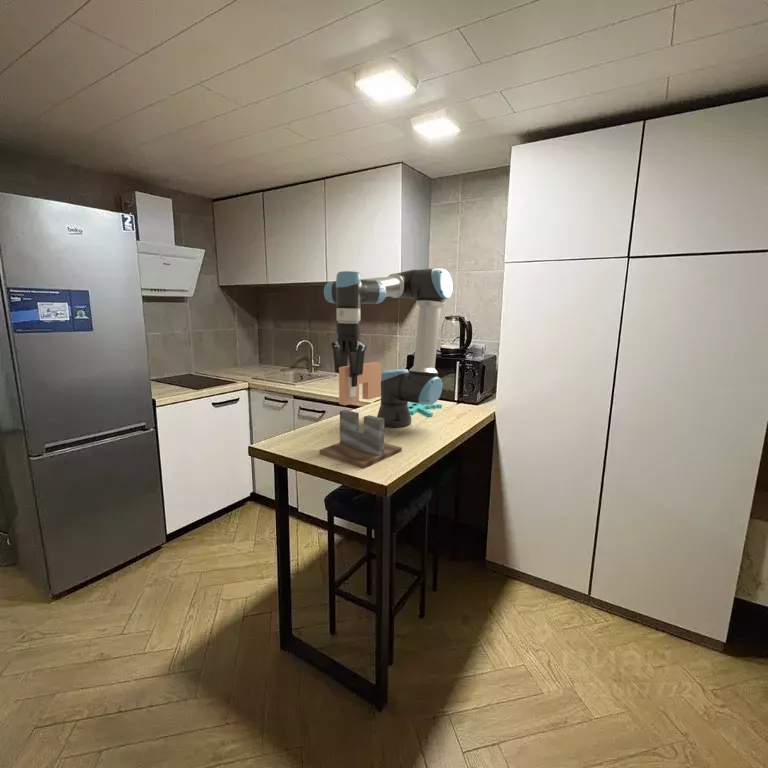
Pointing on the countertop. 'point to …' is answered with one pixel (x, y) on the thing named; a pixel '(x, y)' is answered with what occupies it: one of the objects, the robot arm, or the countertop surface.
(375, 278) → the robot arm
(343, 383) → the terracotta plate
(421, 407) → the alien figure
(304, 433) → the countertop surface
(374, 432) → the slotted stand
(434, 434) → the countertop surface
